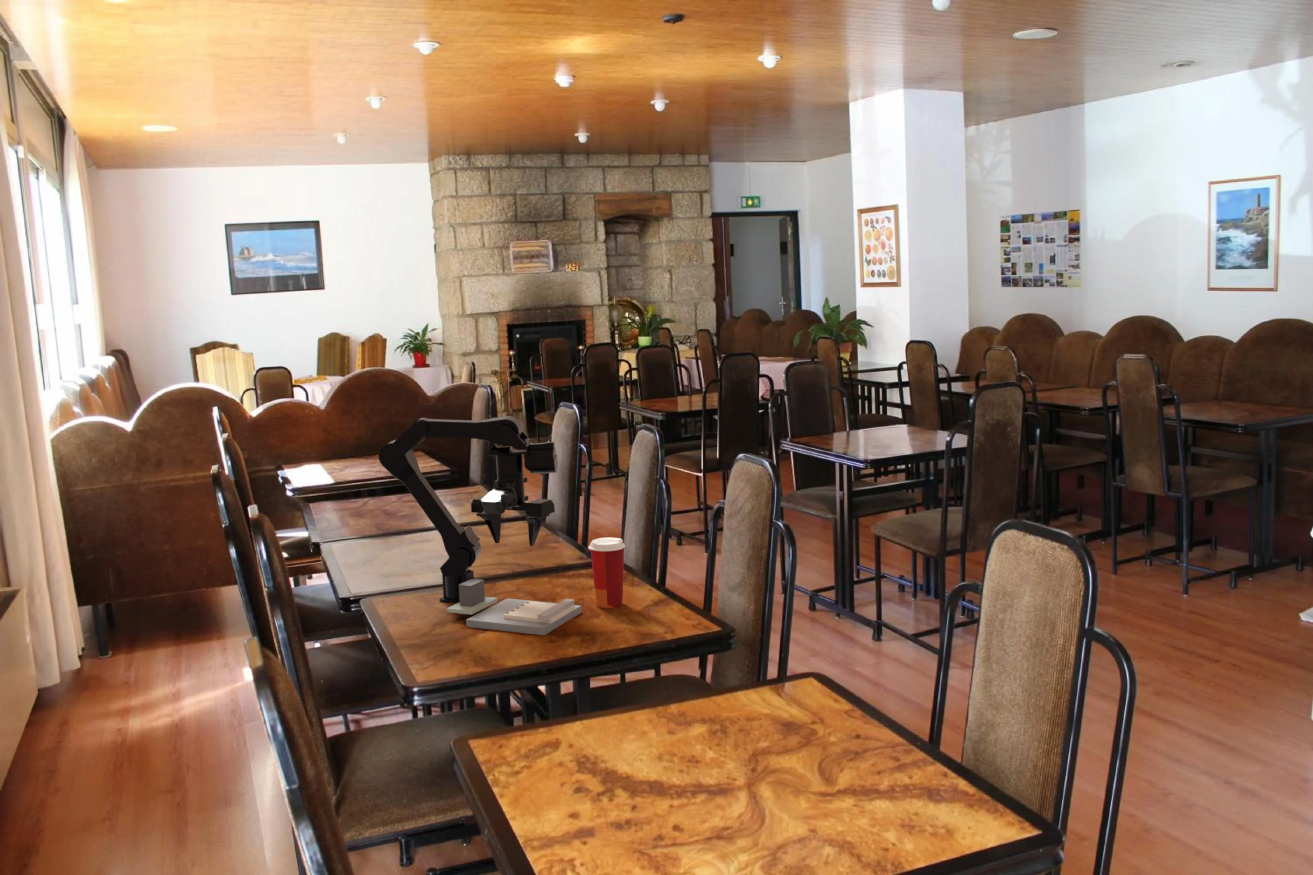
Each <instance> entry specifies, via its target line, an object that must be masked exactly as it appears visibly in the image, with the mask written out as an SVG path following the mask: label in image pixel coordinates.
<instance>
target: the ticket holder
mask: <svg viewBox="0 0 1313 875" xmlns="http://www.w3.org/2000/svg"><path fill="white" fill-rule="evenodd" d="M580 614H582V605H579V604H575V599H573V598H565V599H563V600H562V601H559V602H557V603H556V602H550V601H549V602H548V601H539V600H538V601H536V600H528V599H527V600H526V599H517V598H509V597H508V598H505V599H504V600H501V601H500V602H498V603H497V602H496V604H495V603H494V605H492V606H490V607H487V608H485V609H483V610H481V611H479V612H477V613H475V614H473V616H472V615H471V617H468V618H467V619H466V620H465V622H466V627H467V628H473V629H475V628H476V629H483V630H484V629H485V630H493V631H499V632H501V631H502V632H511V633H519V634H531V635H538V636H539V635H540V636H545V635H547V634H549V633H551V632H552V631H554V630H555V629H558V627H560V626H562V625H564V624H565V623H567V622H569V621H570V620H572V619H573V618H576V616H579V615H580Z"/></svg>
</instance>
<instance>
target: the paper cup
mask: <svg viewBox="0 0 1313 875" xmlns="http://www.w3.org/2000/svg"><path fill="white" fill-rule="evenodd" d="M625 548H626V545H625V544H624V540H623V539H622V538H619V537H610V536H609V537H599V538H595V539H592V541H591V542H590V543H589V546H588V549H589V550H590V555H591V557H590V558H591V566H592V576H593V578H592V579H593V585H594V594H595V595H594V596H595V603H596V604H595V605H596V607H597V608H601V609H615V608H619V607H622V605H623V598H624V566H625V564H624V563H625Z"/></svg>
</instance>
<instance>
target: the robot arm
mask: <svg viewBox="0 0 1313 875" xmlns="http://www.w3.org/2000/svg"><path fill="white" fill-rule="evenodd" d="M426 438H439V439H440V438H443V439H444V438H445V439H448V438H449V439H472V440H473V439H475V440H481V441H485V442H486V443H491V444H492V445H491V448H490V449H489V450H488V451H487V452H486V453H485V454H486V456H495V463H496V464H495V465H496V477H497V478H496V480H493V485H492V487H493V488H492V490H491V491H490V490H489V492H487V494H485V495H483V496H479V497H477V498H474V499H472V501H471V503H470V512H471V513H474V514H475V513H476V514H475V515H476V516H477V517H480V518H481V519H482V520H483V521H484V522H485V524H486V525H487V527H488V529H489V532H490V534H491V537H492V539H493V541H494V543H495V544H499V543H500V541H501V531H502V530H501V528H502V524H501V523H502V514H504V513H505V511H520V512H521V511H522V512H524V513H525V514H526V515H527V516H526V517H524V520H525V521H526V523H527V529H528V541H529V542H528V543H529V546H530V547H533V546H535V544H536V541H537V539H538V535H539V533H540V530H541V528H542V526H543V524H544V522H545V520H546V518H548V517H549V516H550V515H551V514H552V513H555V512H556V510H555V503H554V502H553V500H552V499H549V498H548V499H546V498H537V499H534V500H531V501H530V500H529V495H526V493H525V483H528V477H527V476H526V477H525V476H524V470H526V471H529V473H530V474H531V475H534V474H536V475H537V474H556V473H557V472H558V463H559V462H558V454H557V450H556V447H555V446H556V445H555V442H554V441H546V442H535V443H533V441H532V440H531V439H530V438H529V437H528V436H527V434H526V433H525V432H524V431H523V425H522V423H521V421H520V420H519V419H518V418H517V417H515V416H512V415H507V416H499V417H493V418H488V419H482V420H474V419H473V420H470V419H469V420H468V419H466V420H465V419H439V418H438V419H437V418H436V419H435V418H428V417H421V418H419V419H417V420H416V421H414V422H413V423H412V425H411V426H410V427H408V429H407V430H406V431H405V432H403V433H402V434H401V435H400V436H399V437H397V439H394V440H391V441H390V442H388V443H386V444H384V445H382V447H381V448H380V450H379V452H378V461H379V463H380V465H381V466H382V467H383V468H384V469H385V470H386V471H387V472H388V473H389V474H391V476H393V477H394V478H396V479H397V480H399V481H400V482H401V483H403V485H405V487H406V489H407V490H408V491H409V493H410V494H411V496H412V497H413V498H414V499H415V501H416V502H417V504H418V506H420V508H421V509H422V511H423V512H424V514H425V515H426V517H427V518H428V519H429V521H430V522H431V523H432V525H433V526H434V527H435V530H436V531H438V533H439V534H440V536H441V540H442V543H443V547H444V550H445V551H446V554H447V556H448V558H447V559H446V561H445V562H443V564H442V565H441V566H440V568H439V569H440V572H441V576H442V577H441V579H442V592H443V593H442V595H443V596H441V597H440V598H439V599H438V600H439V601H440V602H447V603H448V602H449V603H455V604H457V603H459V602H460V600H459V584H461V583H464V582H466V581H468V580H470V579H476V578H475V576H474V574H475V573H474V572H475V571H474V570H472V569H470V568H472V566H473V564H474V563H475V562H476V560H478V558H479V557H480V555H481V553H482V552H481V550H482V546H481V543H480V541H481V538H480V537H478V535H476V533H475V532H474V530H473V528H472V526H471V525H470V524H469V525H467V526H466V528H464V526H462V525H460V524H459V523H458V521H456V519H455V518H454V516H453V515H452V514H451V512H450V511H449V510H448V508H447V507H446V505H445V504H444V502H443V501H442V500H441V499H440V497H439V496H438V494H437V493H436V492H435V490H434V488H433V487H432V485H430V482H428V480H427V479H426V477H425V476H424V475H423V473H422V471H421V470H420V466H419V463H418V460H417V457H416V455H415V452H414V450H415V449H416V448H417V447H418V446H419V445H420V444H421V443H422V442H423V441H424V440H425V439H426ZM499 445H501V446H499ZM523 456H524V457H523ZM523 458H524V459H523ZM523 460H524V462H523ZM523 463H524V464H523ZM524 468H525V469H524Z"/></svg>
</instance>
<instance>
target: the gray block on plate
mask: <svg viewBox="0 0 1313 875" xmlns="http://www.w3.org/2000/svg"><path fill="white" fill-rule="evenodd" d="M459 600H460V602H459V603H454V604H453V605H451V606H449V607H447V608H446V612H447V613H453V614H461V615H470V616H472V615H475V614H477V613H479V612H481V611H483V610H485V609H487V608H489V606H490V607H491V605H492V606H493V604H494V605H495V603H497V602H498V597H492V596H485V580H484V579H481V578H479V579H477V578H475V579H470V580H468V581H466V582H464V583H461V584H459Z"/></svg>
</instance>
